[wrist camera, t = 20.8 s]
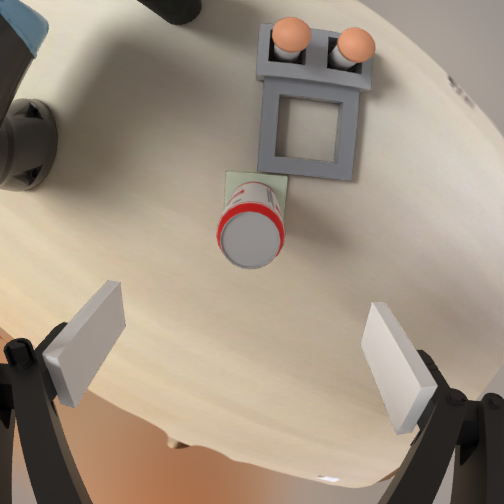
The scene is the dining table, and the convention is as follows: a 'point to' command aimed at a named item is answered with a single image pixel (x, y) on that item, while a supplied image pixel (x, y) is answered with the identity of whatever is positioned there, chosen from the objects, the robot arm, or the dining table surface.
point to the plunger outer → (351, 49)
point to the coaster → (273, 181)
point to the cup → (174, 9)
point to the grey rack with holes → (311, 88)
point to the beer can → (251, 226)
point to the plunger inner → (290, 39)
